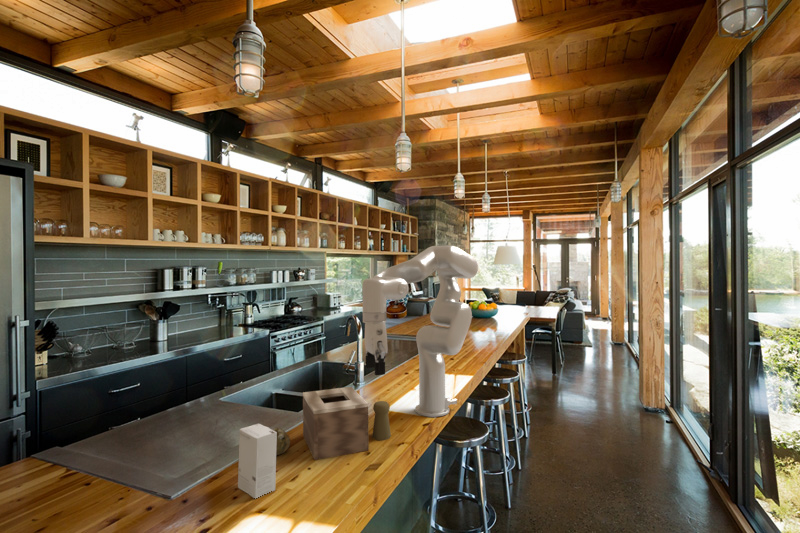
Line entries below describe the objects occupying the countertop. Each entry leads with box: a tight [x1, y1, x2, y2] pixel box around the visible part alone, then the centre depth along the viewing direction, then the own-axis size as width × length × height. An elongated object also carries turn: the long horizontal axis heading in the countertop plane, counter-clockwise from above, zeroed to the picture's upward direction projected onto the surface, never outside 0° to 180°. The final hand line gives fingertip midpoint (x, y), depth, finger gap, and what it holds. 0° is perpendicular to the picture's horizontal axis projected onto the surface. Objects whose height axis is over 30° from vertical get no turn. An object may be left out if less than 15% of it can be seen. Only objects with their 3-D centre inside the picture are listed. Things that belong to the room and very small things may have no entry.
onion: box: [272, 426, 291, 456], centre depth 128 cm, size 8×8×8 cm
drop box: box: [302, 386, 370, 461], centre depth 134 cm, size 16×18×14 cm
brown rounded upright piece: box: [371, 400, 392, 441], centre depth 139 cm, size 6×6×11 cm
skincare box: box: [237, 423, 277, 500], centre depth 108 cm, size 8×6×15 cm
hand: (375, 370), depth 139 cm, fingers open, 9 cm apart
